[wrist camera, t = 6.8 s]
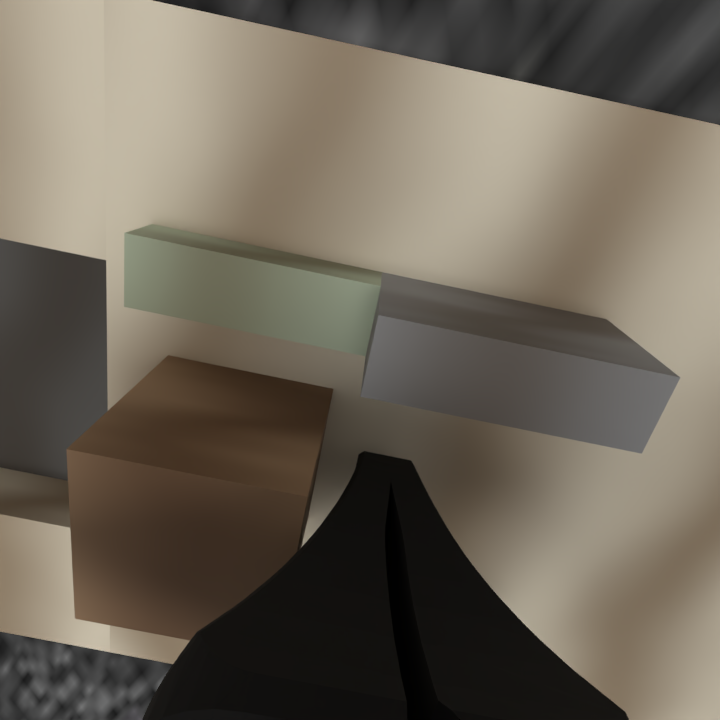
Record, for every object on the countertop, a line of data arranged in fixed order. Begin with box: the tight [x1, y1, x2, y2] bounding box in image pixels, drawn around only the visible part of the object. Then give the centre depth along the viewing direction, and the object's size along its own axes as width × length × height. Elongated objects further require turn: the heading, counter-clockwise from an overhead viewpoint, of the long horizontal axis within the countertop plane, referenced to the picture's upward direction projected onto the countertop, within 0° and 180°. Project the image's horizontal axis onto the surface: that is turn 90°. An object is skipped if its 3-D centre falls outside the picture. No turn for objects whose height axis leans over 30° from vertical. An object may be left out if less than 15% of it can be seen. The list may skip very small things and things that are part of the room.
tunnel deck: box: [0, 0, 720, 720], centre depth 12 cm, size 27×18×5 cm, turn 79°
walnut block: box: [66, 355, 333, 641], centre depth 11 cm, size 4×4×4 cm
